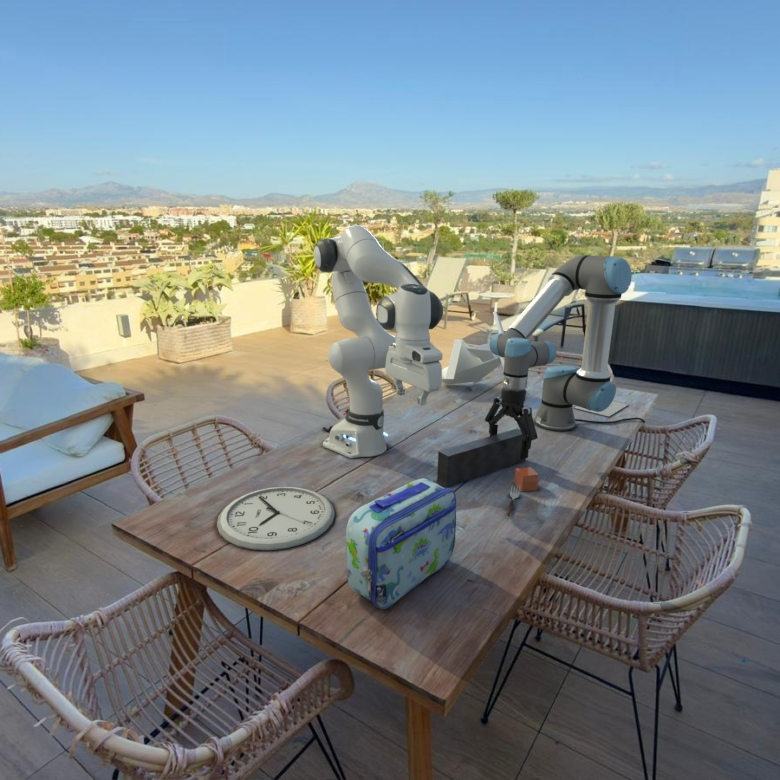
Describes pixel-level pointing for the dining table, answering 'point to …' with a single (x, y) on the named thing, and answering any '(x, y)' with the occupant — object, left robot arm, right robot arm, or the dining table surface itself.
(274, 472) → the dining table surface
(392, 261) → the left robot arm
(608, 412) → the invitation card
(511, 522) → the dining table surface
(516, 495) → the fork
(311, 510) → the wall clock
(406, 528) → the lunch box
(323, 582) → the dining table surface
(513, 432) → the bar
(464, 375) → the white plastic object
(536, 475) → the terracotta block
